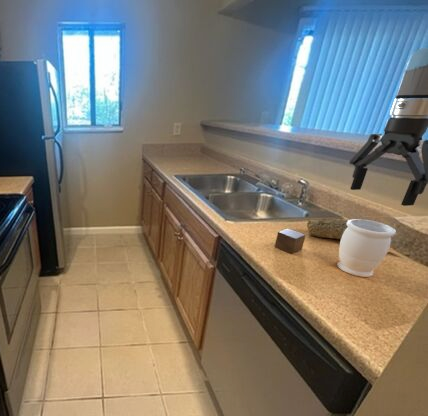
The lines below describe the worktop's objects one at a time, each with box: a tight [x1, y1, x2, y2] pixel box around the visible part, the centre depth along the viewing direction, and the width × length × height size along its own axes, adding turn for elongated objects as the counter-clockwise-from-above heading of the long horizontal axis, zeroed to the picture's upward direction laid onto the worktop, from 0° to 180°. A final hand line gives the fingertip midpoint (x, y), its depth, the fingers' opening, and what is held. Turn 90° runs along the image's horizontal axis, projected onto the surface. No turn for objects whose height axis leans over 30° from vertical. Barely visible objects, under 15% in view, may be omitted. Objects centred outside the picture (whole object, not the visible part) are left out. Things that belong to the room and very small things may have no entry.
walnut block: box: [274, 228, 307, 255], centre depth 96 cm, size 6×6×6 cm
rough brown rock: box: [306, 218, 349, 240], centre depth 104 cm, size 13×8×20 cm
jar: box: [336, 218, 397, 278], centre depth 82 cm, size 11×10×15 cm
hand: (379, 196), depth 77 cm, fingers open, 13 cm apart
